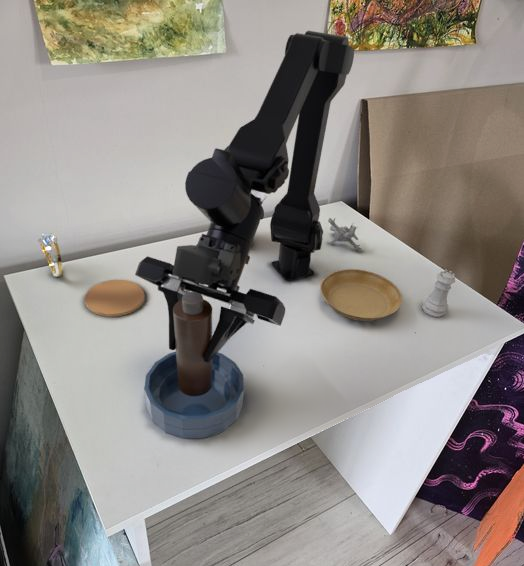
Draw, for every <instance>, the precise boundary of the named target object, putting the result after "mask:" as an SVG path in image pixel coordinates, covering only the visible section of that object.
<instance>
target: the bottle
mask: <svg viewBox="0 0 524 566" xmlns="http://www.w3.org/2000/svg"><path fill="white" fill-rule="evenodd" d="M173 315H174V330H175V345H176V349H175V352H176V360H177V376H178V387H179V389H180V391H181V392H182V393H184V394H186V395H188V396H201V395H204V394H206V393H207V392H208V391H209V390H210V389H211V387H212V360H211V361H210V362H209V363H207V362H204V358H205V354H206V351H207V348H208V345H209V343H210V341H211V338H212V336H213V306H212V304H211V303H210V302H209V301H207V300H206V299H204V296H203V295H201V294H199V293H197V292H191V291H190V292H188V293H186V294H184V295H183V297H182V300H180V301H178V302H177V303H176V304H175V305H174V308H173Z"/></svg>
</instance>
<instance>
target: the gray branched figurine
mask: <svg viewBox="0 0 524 566" xmlns="http://www.w3.org/2000/svg"><path fill="white" fill-rule="evenodd" d="M335 221H336V217H334V218H333V219H332V218H331V217H329V218H328V219H327V222H328V223H329V224H330V227H329V230H330V232H334V233H333V235H334V240H332V241H331V242H329V244H333V243H335V242H339V243H341V242H347V243H349V244H350V245H351V246H353V248H354V250H356V251H357V252H358V253H359V252H361V251H362V248H361V247H360V246H361V243H359V244H356V242H354V240H353V239H355V240H356V241H359V237H358V236H357V235H356V229H358V228H359V226H355V225H354V224H355V222H352V223H351V224H350V225H349V227H347V226H346V225H345V226H338V225H337V224H336V223H335Z"/></svg>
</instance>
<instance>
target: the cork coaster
mask: <svg viewBox="0 0 524 566" xmlns="http://www.w3.org/2000/svg"><path fill="white" fill-rule="evenodd" d="M145 298H146V296H145V291H144V289H143V288H142V287H141V286H140V285H139V284H137V283H136V282H133V281H131V280H127V279H111V280H105V281H102V282H99V283H97V284H95V285H93V286H92V287H90V289H89V290H87V292H86V294H85V296H84V303H85V306H86V307H87V308H86V309H88V310H89V311H90V312H91V313H93V314H95V315H98V316H102V317H107V318H109V317H110V318H113V317H122V316H123V317H124V316H126V315H130V314H131V313H134V312H135V311H137V310H139V309H140V308H141V307H142V306H143V304H144V302H145Z"/></svg>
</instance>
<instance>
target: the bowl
mask: <svg viewBox="0 0 524 566" xmlns="http://www.w3.org/2000/svg"><path fill="white" fill-rule="evenodd" d="M144 379H145V380H144V385H143V390H144V391H143V392H144V398H145V407H146V410H147V412H148V415H149V417H150V420H151V421H152V423H153V424H155V425H156V426H157V427H158V428H160V429H161V430H162V432H165V433H166V434H168V435H172V436H175V437H178V438H181V439H205V438H208V437H212V436H214V435H217V434H220V433H223V432H225V431H226V429H228V428H229V427H230V426H231V425H233V424H234V423H235V422H237V420H238V418H239V415H240V414H241V411H242V409H243V406H244V394H245V383H244V381H245V380H244V374H243V372H242V370H241V369H240V368H239V366H238V364H237V362H235V361H234V360H232V359H231V358H229V357H228V356H226V354H224V353H221V352H218V353H217V354H216V355H215V356H214V357H213V358H212V387H211V389H210V390H209V391H208V392H207V393H206V394H204V395H201V396H188V395H186V394H184V393H182V392H181V391H180V389H179V387H178V376H177V360H176V351H173V352H170V353H168V354H166V355H164V356H163V357H161V358H160V359H157V360H156V361H155V362H154V363H153V365H152V366H151V367H150V368H149V370H148V371H147V372H146V374H145V378H144Z"/></svg>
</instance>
